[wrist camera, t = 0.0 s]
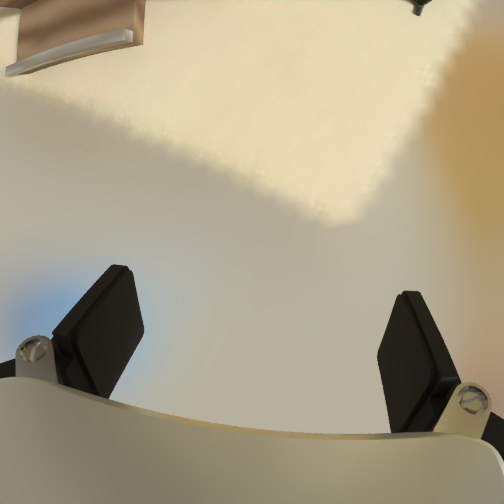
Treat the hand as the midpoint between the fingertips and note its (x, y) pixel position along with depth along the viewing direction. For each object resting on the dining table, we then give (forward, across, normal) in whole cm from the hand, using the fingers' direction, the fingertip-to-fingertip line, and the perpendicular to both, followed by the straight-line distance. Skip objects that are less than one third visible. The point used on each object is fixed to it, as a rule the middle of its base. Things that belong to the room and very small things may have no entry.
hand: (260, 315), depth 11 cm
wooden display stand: (+31, +30, -21) cm, 48 cm away
